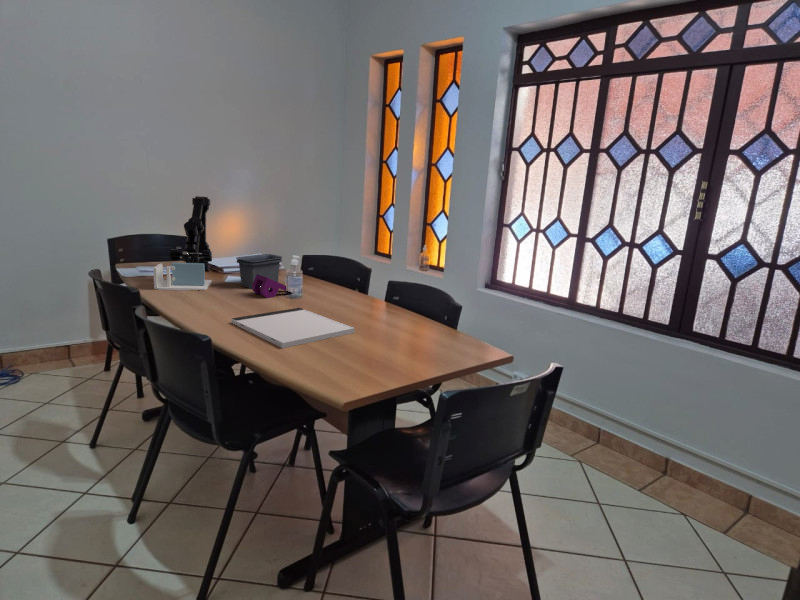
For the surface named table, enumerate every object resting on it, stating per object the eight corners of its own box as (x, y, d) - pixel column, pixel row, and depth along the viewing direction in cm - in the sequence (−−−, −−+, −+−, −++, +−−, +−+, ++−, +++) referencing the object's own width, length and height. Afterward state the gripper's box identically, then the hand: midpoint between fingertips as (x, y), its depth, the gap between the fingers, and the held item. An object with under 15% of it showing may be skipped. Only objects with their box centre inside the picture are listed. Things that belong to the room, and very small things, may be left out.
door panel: (173, 283, 249) (172, 262, 247) (204, 284, 252) (204, 263, 250) (171, 285, 246) (170, 264, 243) (203, 286, 248) (203, 265, 246)
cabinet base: (164, 281, 259) (163, 259, 256) (211, 282, 263) (211, 261, 261) (154, 289, 241) (153, 267, 238) (205, 290, 245) (205, 268, 243)
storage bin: (250, 290, 251) (250, 261, 248) (230, 285, 260) (230, 256, 257) (285, 285, 268) (285, 257, 265) (265, 279, 277) (265, 252, 273)
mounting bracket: (279, 303, 256) (249, 290, 243) (286, 286, 257) (256, 273, 244) (290, 307, 250) (260, 295, 237) (297, 290, 251) (267, 277, 238)
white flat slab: (231, 318, 199) (300, 307, 221) (231, 324, 200) (300, 313, 222) (283, 342, 176) (354, 328, 197) (283, 349, 176) (354, 334, 198)
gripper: (214, 253, 266) (211, 279, 258) (175, 252, 262) (170, 278, 254) (212, 240, 257) (209, 266, 249) (171, 238, 253) (166, 265, 245)
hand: (189, 270), depth 250 cm, fingers closed, pressing on door panel
